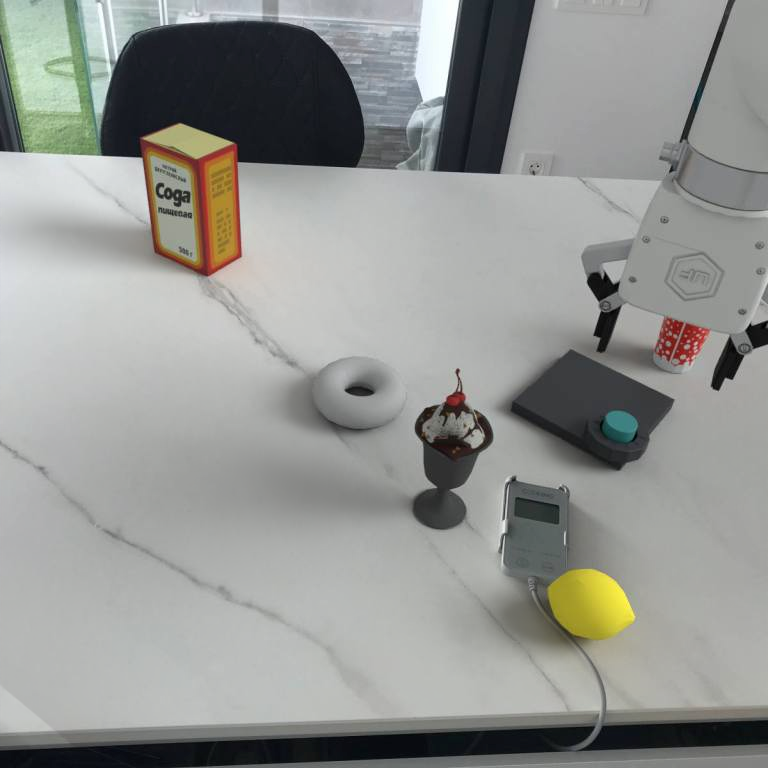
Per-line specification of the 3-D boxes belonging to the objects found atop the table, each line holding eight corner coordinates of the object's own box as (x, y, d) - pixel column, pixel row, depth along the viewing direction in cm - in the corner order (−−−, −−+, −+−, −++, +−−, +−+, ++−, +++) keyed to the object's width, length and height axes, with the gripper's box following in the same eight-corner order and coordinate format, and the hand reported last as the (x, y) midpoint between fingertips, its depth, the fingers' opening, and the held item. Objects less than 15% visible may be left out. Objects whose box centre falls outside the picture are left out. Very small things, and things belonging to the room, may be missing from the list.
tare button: (638, 432, 78) (643, 420, 77) (625, 448, 76) (629, 436, 75) (610, 417, 80) (614, 406, 79) (596, 432, 78) (600, 421, 77)
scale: (680, 413, 85) (689, 392, 83) (624, 481, 76) (633, 460, 75) (567, 358, 92) (573, 337, 90) (504, 415, 83) (510, 394, 81)
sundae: (440, 471, 76) (462, 349, 66) (489, 514, 72) (520, 391, 62) (389, 501, 72) (404, 377, 63) (437, 548, 68) (461, 423, 59)
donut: (381, 449, 78) (420, 391, 85) (383, 424, 75) (423, 367, 82) (294, 416, 80) (338, 363, 87) (294, 391, 78) (339, 338, 85)
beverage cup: (704, 359, 94) (747, 258, 85) (689, 384, 89) (733, 281, 81) (655, 339, 96) (692, 239, 87) (638, 363, 92) (675, 260, 83)
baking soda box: (154, 252, 103) (139, 134, 93) (189, 233, 107) (178, 119, 97) (208, 276, 99) (198, 157, 89) (241, 256, 104) (236, 140, 93)
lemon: (533, 634, 62) (547, 594, 59) (547, 583, 66) (561, 543, 63) (619, 667, 61) (639, 628, 57) (629, 613, 65) (648, 573, 61)
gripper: (601, 163, 55) (549, 353, 66) (863, 229, 50) (760, 423, 61) (623, 129, 60) (571, 310, 71) (861, 186, 55) (767, 371, 66)
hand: (658, 362), depth 66 cm, fingers open, 9 cm apart
